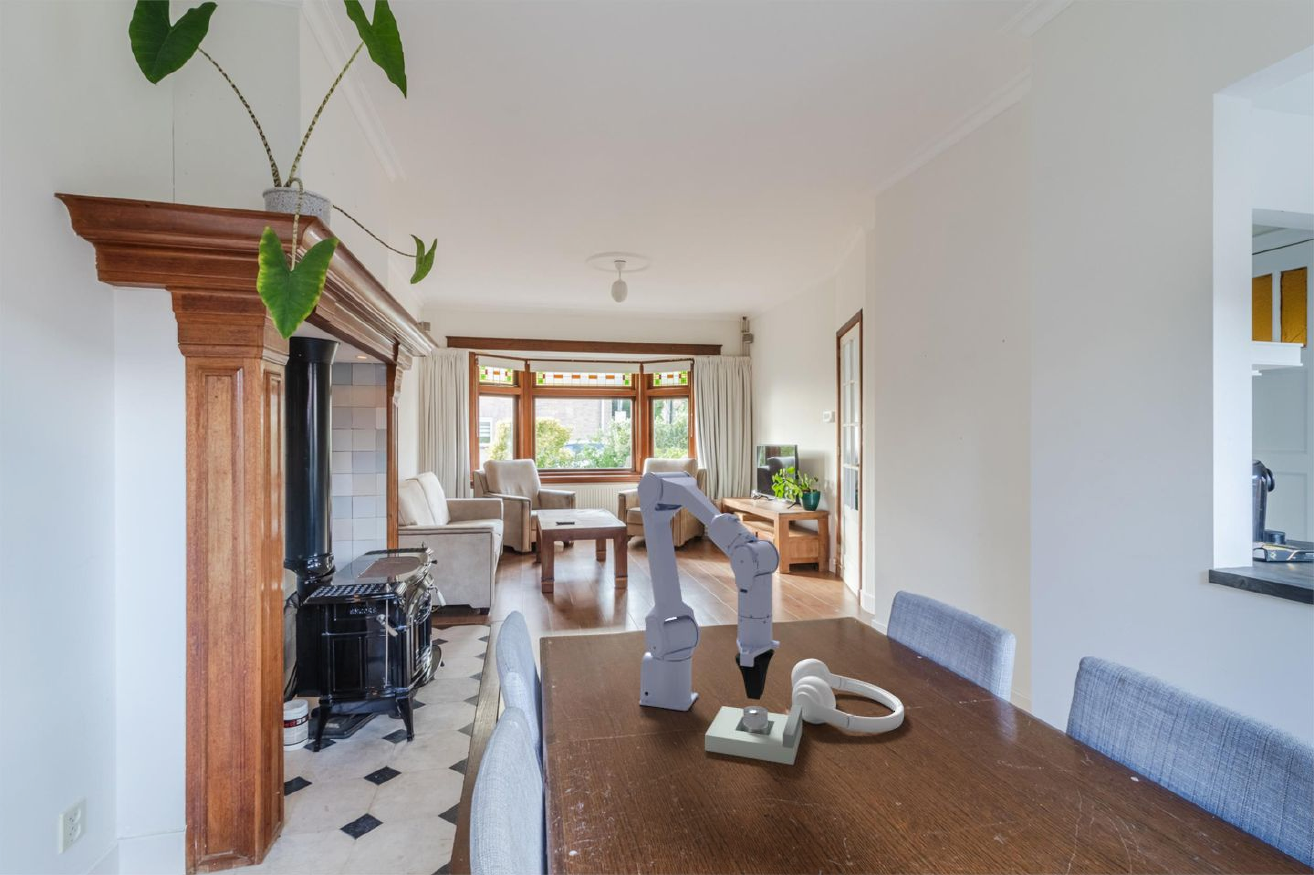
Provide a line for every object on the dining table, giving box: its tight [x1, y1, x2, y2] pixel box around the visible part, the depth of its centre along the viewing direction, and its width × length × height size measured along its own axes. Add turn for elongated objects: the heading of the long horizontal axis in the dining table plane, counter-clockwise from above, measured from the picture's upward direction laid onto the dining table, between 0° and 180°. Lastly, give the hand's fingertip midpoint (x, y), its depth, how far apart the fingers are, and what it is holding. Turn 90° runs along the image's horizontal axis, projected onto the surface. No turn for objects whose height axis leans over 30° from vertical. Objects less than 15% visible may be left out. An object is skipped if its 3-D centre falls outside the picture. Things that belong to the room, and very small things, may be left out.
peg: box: [742, 705, 769, 735], centre depth 105 cm, size 4×4×5 cm
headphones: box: [790, 658, 905, 734], centre depth 117 cm, size 20×8×20 cm
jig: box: [704, 704, 803, 766], centre depth 105 cm, size 14×12×4 cm
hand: (755, 696), depth 105 cm, fingers closed
